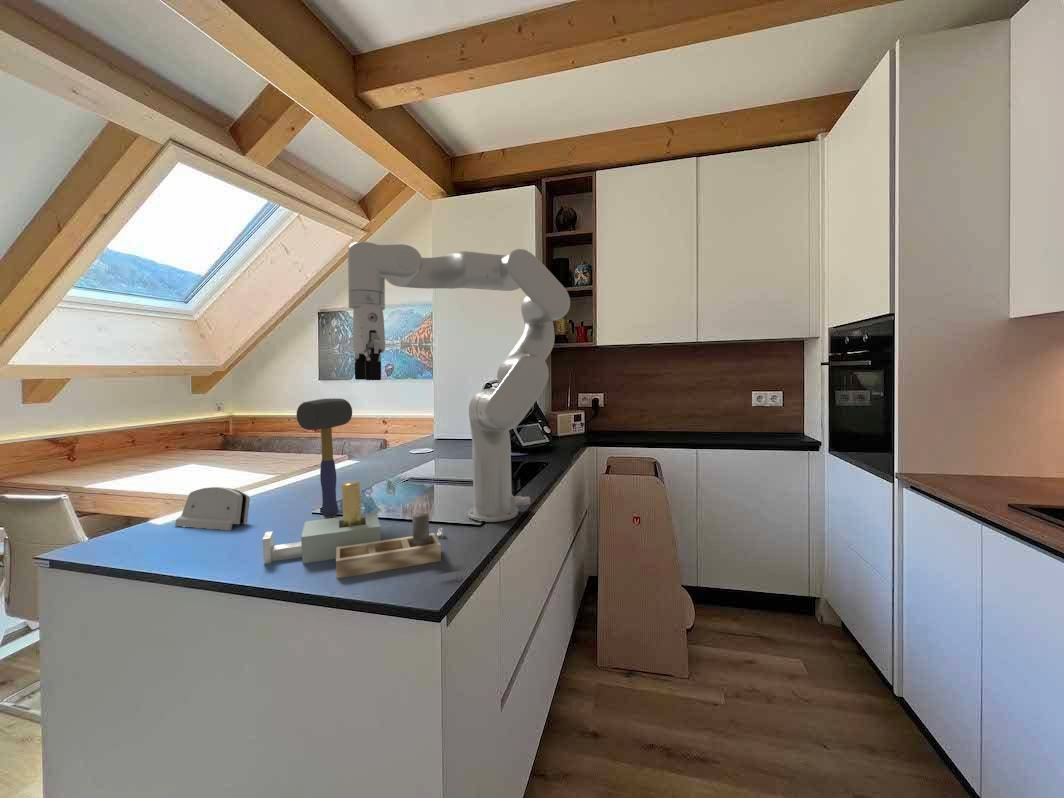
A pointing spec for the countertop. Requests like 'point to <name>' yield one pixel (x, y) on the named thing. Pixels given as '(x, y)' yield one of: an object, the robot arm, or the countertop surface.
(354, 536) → the socket block
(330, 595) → the countertop surface
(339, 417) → the rubber mallet
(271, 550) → the t-shaped push slider
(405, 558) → the rack
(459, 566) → the countertop surface
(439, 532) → the adhesive hook
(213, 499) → the grey rounded block
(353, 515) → the gold cylindrical peg
